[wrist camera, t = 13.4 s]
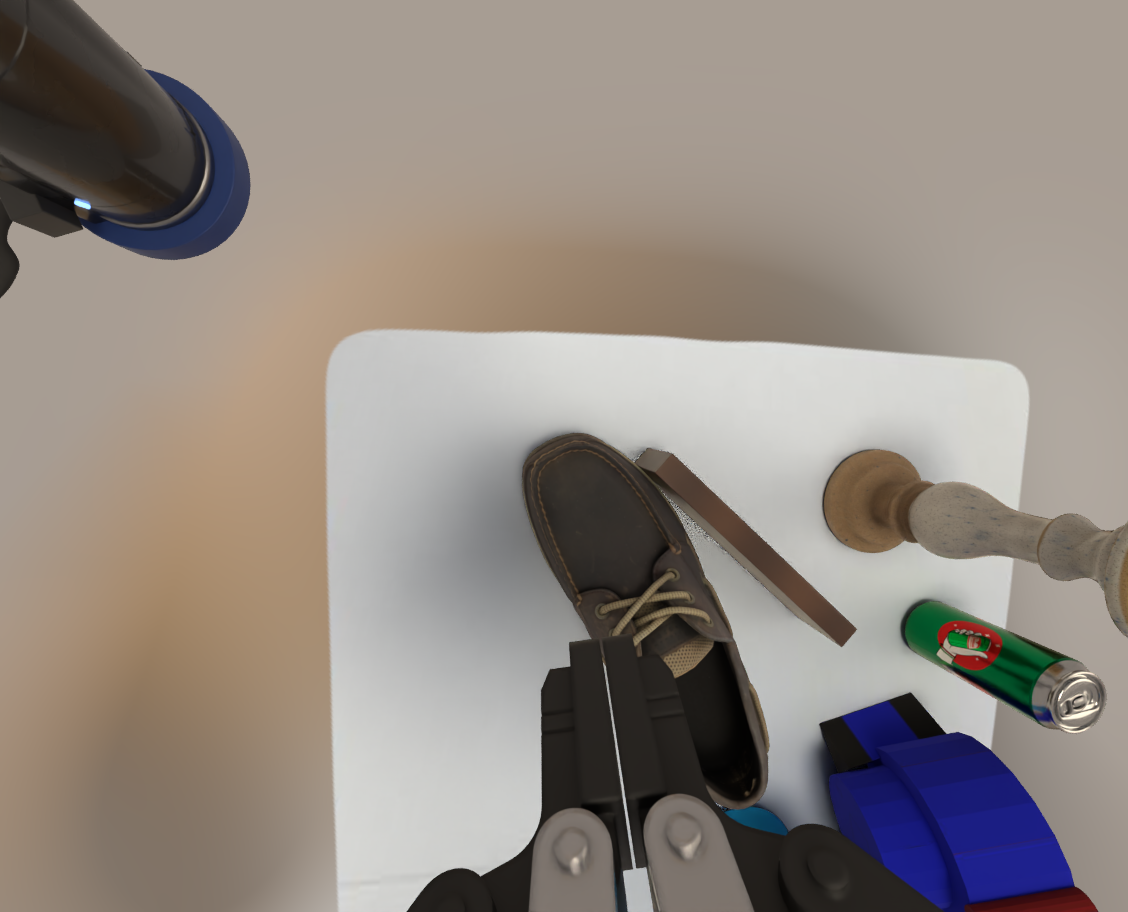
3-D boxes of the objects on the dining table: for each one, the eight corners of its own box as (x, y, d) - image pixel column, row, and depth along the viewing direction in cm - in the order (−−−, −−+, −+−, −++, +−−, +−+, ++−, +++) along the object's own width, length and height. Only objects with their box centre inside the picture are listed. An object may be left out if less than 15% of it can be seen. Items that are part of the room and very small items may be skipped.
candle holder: (831, 561, 43) (1126, 693, 23) (813, 463, 42) (1106, 511, 22) (921, 534, 44) (1279, 638, 24) (906, 438, 43) (1267, 462, 23)
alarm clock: (938, 808, 47) (1143, 992, 32) (819, 852, 45) (976, 1066, 31) (918, 690, 45) (1124, 825, 31) (795, 732, 44) (947, 895, 29)
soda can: (955, 640, 45) (1118, 721, 34) (907, 661, 45) (1055, 751, 33) (943, 590, 45) (1104, 654, 33) (894, 610, 44) (1039, 683, 32)
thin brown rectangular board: (811, 601, 43) (857, 629, 38) (798, 617, 43) (841, 647, 38) (648, 447, 40) (672, 453, 34) (632, 464, 40) (654, 472, 34)
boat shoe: (603, 399, 39) (644, 395, 28) (778, 688, 43) (869, 777, 33) (485, 475, 38) (481, 500, 28) (674, 761, 43) (734, 877, 32)
